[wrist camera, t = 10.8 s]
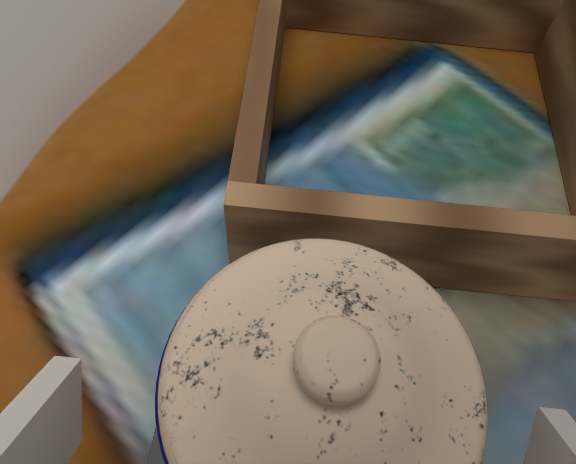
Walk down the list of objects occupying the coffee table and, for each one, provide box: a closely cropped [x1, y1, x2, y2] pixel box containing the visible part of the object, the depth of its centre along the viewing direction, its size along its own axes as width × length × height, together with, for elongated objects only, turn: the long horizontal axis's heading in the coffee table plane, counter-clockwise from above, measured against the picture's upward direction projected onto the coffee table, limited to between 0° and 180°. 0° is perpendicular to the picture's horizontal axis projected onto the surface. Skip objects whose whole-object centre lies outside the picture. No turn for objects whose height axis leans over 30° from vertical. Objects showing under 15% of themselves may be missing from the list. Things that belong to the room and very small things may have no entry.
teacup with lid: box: [155, 239, 487, 464], centre depth 16 cm, size 12×9×12 cm
